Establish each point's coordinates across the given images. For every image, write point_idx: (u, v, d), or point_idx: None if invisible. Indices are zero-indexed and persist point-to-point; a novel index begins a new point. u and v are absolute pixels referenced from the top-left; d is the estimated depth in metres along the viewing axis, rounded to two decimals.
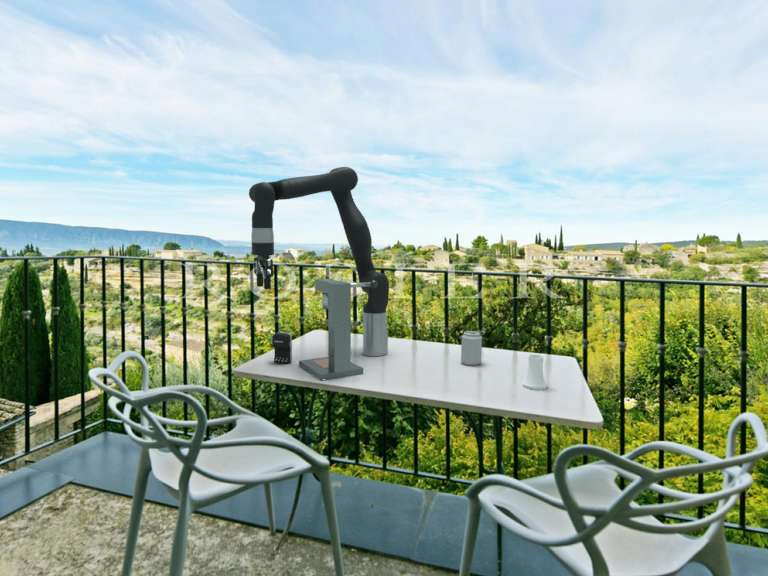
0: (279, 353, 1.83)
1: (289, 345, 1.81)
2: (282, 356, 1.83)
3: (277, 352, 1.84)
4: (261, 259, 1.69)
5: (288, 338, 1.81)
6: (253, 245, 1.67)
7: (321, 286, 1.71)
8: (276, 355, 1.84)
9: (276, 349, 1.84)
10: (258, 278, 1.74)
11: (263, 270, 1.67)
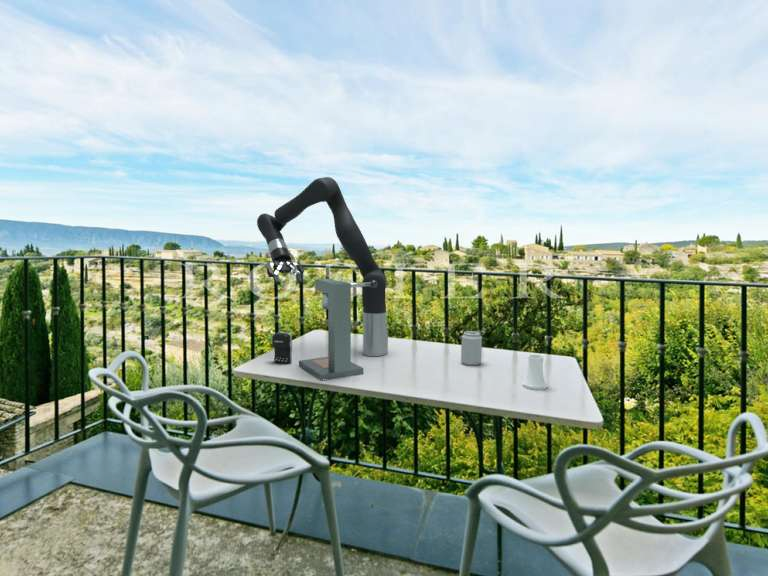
0: (279, 353, 1.83)
1: (289, 345, 1.81)
2: (282, 356, 1.83)
3: (277, 352, 1.84)
4: None
5: (288, 338, 1.81)
6: None
7: (321, 286, 1.71)
8: (276, 355, 1.84)
9: (276, 349, 1.84)
10: (296, 278, 1.95)
11: None
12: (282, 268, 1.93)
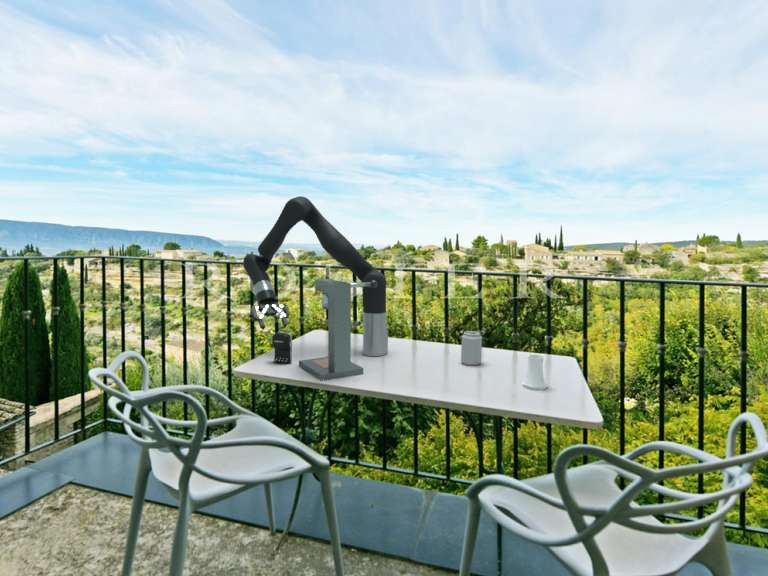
0: (279, 353, 1.83)
1: (289, 345, 1.81)
2: (282, 356, 1.83)
3: (277, 352, 1.84)
4: None
5: (288, 338, 1.81)
6: None
7: (321, 286, 1.71)
8: (276, 355, 1.84)
9: (276, 349, 1.84)
10: (282, 321, 1.93)
11: None
12: (267, 311, 1.91)
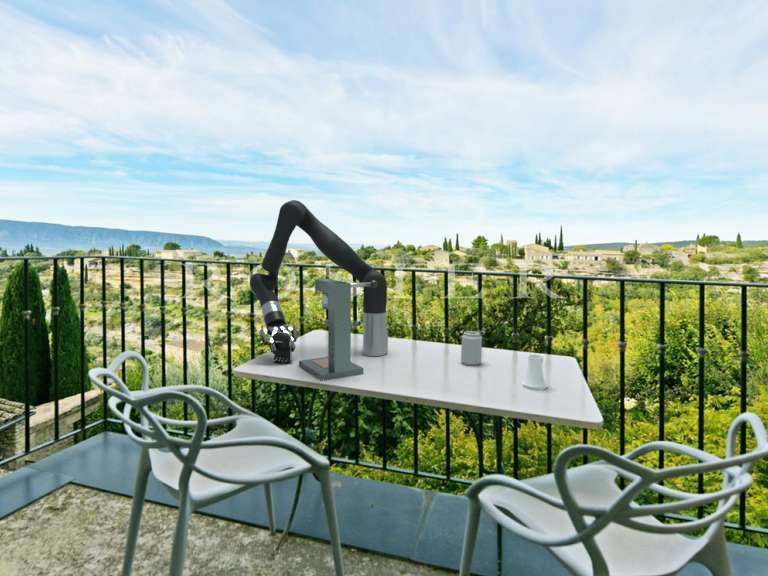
0: (279, 353, 1.83)
1: (288, 345, 1.81)
2: (282, 356, 1.83)
3: (277, 352, 1.84)
4: None
5: (288, 338, 1.80)
6: None
7: (321, 286, 1.71)
8: (276, 355, 1.84)
9: (276, 349, 1.83)
10: None
11: None
12: None
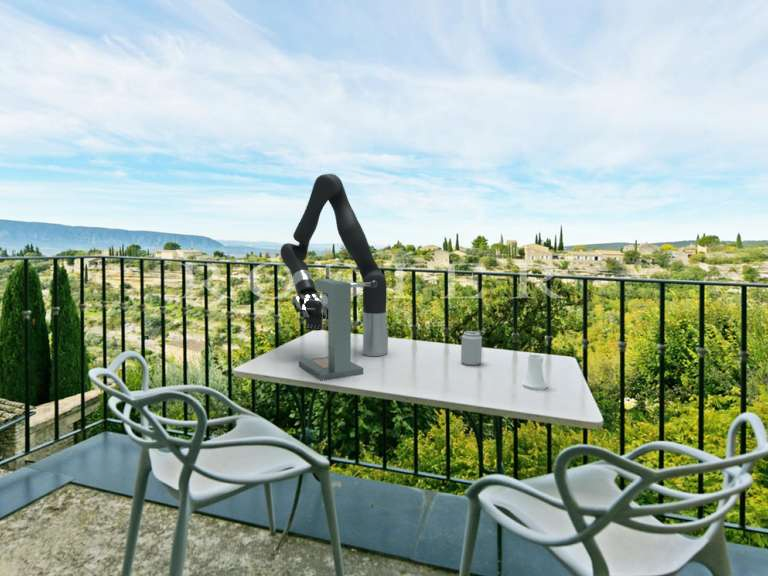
0: (311, 320, 1.86)
1: (320, 312, 1.83)
2: (314, 323, 1.86)
3: (309, 319, 1.86)
4: None
5: (320, 305, 1.83)
6: None
7: (321, 286, 1.71)
8: (308, 322, 1.87)
9: None
10: None
11: (302, 307, 1.86)
12: None
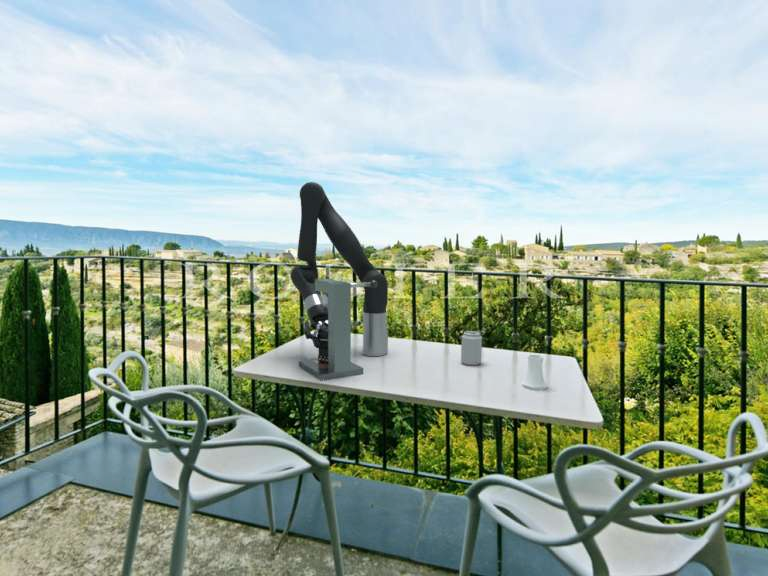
0: (323, 352, 1.77)
1: None
2: (326, 355, 1.77)
3: (321, 351, 1.77)
4: None
5: None
6: None
7: (321, 286, 1.71)
8: (320, 354, 1.78)
9: (320, 348, 1.77)
10: None
11: None
12: (321, 328, 1.77)
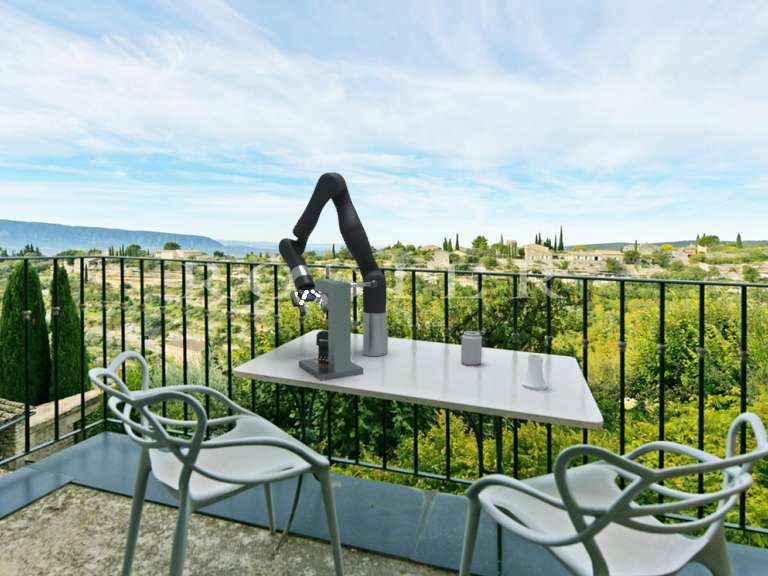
0: (323, 352, 1.77)
1: None
2: (326, 355, 1.77)
3: (321, 351, 1.77)
4: None
5: None
6: None
7: (321, 286, 1.71)
8: (320, 354, 1.78)
9: (320, 348, 1.77)
10: (321, 307, 1.89)
11: None
12: (307, 297, 1.87)
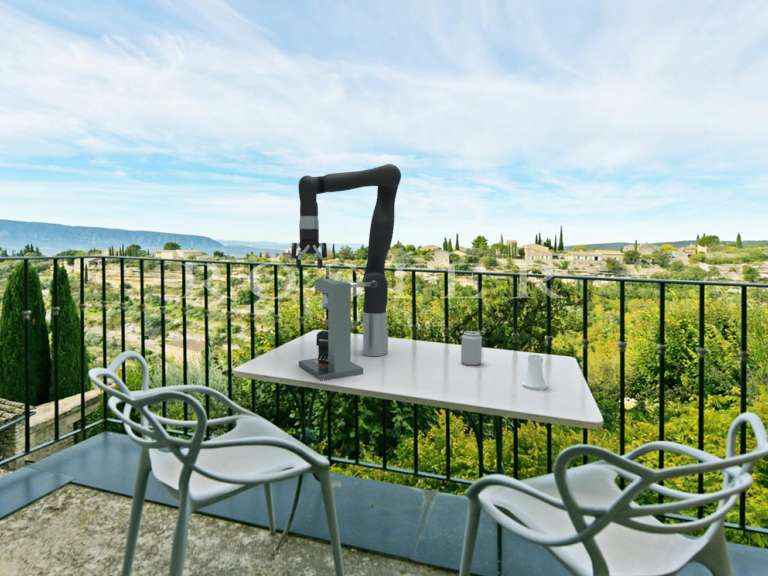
0: (323, 352, 1.77)
1: None
2: (326, 355, 1.77)
3: (321, 351, 1.77)
4: None
5: None
6: None
7: (321, 286, 1.71)
8: (320, 354, 1.78)
9: (320, 348, 1.77)
10: (317, 261, 1.97)
11: None
12: (307, 251, 1.92)
